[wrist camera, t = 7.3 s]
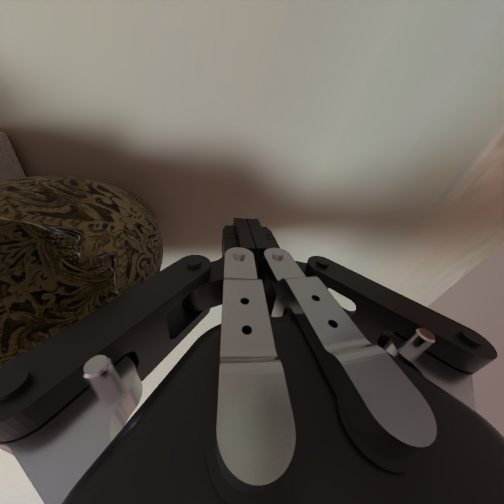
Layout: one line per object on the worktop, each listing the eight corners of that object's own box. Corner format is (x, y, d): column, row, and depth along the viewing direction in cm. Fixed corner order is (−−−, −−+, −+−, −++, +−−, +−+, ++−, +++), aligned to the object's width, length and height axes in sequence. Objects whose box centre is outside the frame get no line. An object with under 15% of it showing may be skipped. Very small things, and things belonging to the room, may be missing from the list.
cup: (174, 150, 11) (66, 189, 4) (197, 260, 15) (161, 372, 8) (34, 154, 11) (-333, 200, 4) (95, 264, 14) (-30, 383, 8)
